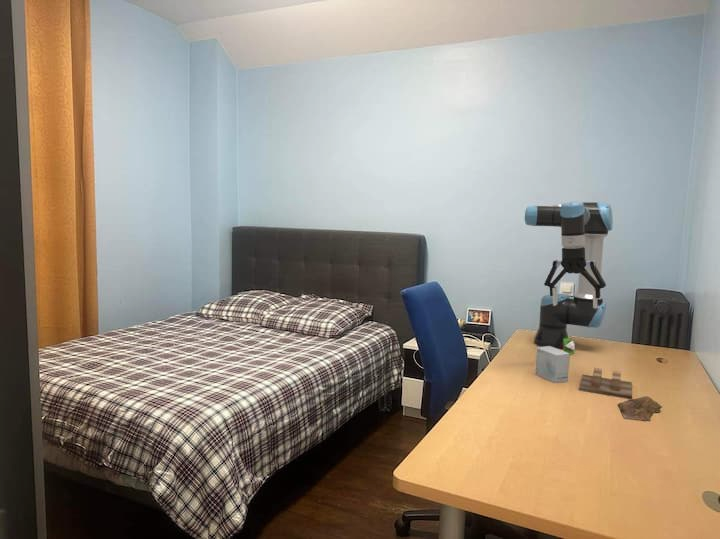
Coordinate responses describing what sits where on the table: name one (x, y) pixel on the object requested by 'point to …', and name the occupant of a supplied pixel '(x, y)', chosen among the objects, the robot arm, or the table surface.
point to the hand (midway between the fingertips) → (574, 306)
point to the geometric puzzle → (568, 345)
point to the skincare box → (552, 364)
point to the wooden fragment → (639, 408)
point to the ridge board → (606, 384)
